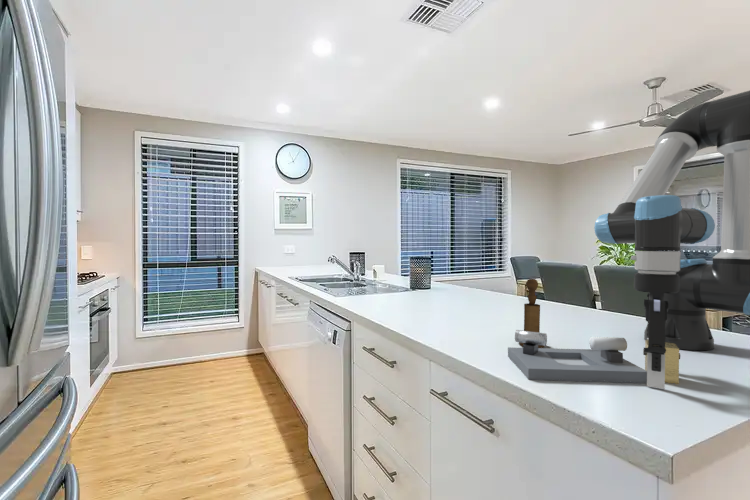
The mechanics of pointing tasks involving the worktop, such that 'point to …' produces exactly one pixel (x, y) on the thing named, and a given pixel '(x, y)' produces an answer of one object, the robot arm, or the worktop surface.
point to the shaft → (530, 340)
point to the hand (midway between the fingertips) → (654, 377)
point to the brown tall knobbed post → (532, 310)
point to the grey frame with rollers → (580, 363)
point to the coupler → (668, 362)
